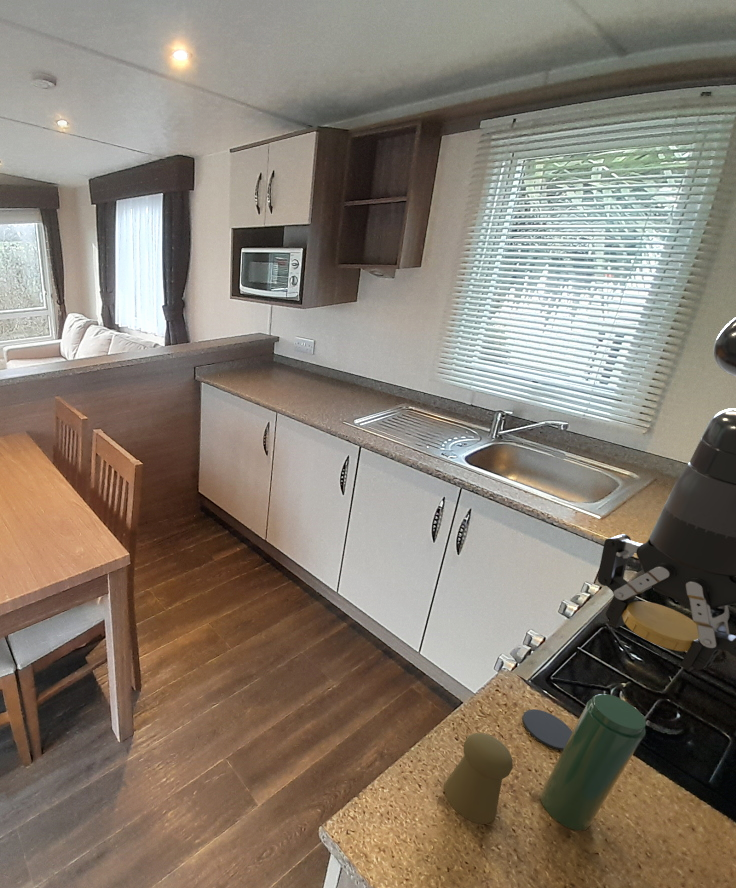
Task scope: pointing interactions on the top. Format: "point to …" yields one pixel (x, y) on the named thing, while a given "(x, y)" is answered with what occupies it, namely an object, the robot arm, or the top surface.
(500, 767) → the cork
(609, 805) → the top surface
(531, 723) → the coaster
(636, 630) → the jar lid
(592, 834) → the top surface
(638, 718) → the cylinder
